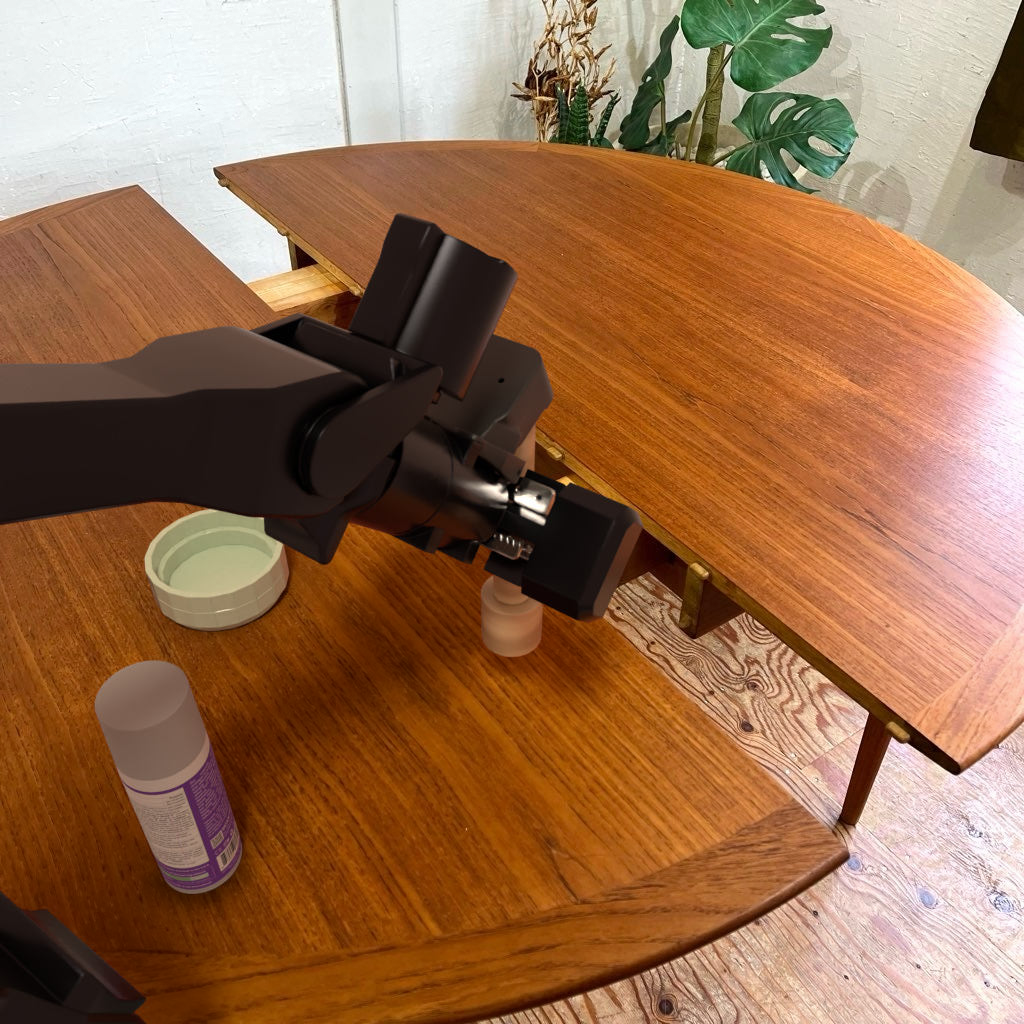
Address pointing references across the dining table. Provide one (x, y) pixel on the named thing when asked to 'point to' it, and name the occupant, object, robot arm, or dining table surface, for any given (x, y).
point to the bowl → (215, 570)
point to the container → (170, 774)
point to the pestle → (511, 598)
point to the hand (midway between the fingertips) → (525, 526)
